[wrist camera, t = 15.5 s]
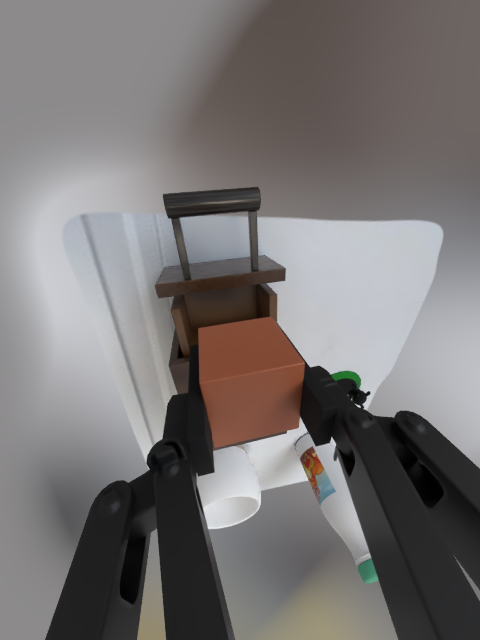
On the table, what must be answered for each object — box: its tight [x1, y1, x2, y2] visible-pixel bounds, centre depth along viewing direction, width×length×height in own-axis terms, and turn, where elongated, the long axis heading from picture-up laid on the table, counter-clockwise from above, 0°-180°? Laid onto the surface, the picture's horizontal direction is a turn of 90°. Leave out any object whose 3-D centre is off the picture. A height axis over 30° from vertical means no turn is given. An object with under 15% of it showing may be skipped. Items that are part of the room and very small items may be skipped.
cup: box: [197, 446, 261, 529], centre depth 38 cm, size 12×12×10 cm
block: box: [198, 317, 305, 448], centre depth 13 cm, size 5×5×5 cm
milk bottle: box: [296, 433, 378, 584], centre depth 38 cm, size 8×8×20 cm
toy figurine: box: [331, 371, 370, 409], centre depth 37 cm, size 10×10×6 cm
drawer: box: [155, 187, 286, 358], centre depth 22 cm, size 21×11×6 cm, turn 4°
